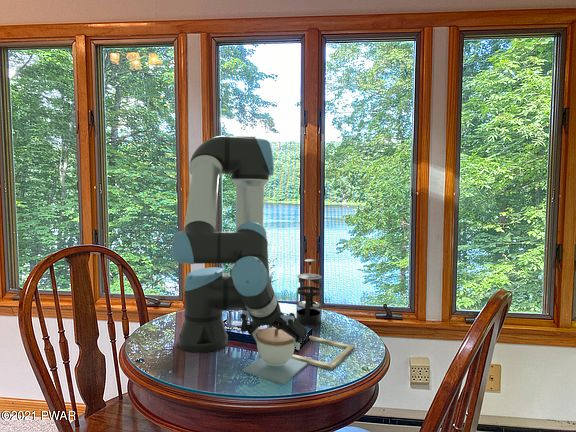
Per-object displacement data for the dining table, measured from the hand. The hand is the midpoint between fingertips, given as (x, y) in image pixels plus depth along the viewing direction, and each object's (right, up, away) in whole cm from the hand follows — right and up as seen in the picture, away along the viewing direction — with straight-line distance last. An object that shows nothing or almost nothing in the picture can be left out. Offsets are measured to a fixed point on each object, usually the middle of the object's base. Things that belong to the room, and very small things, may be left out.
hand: (279, 342), depth 114 cm
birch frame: (+11, -6, +9) cm, 16 cm away
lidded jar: (-1, -5, -2) cm, 5 cm away
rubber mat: (-1, -6, -2) cm, 7 cm away
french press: (+10, -3, +36) cm, 38 cm away
